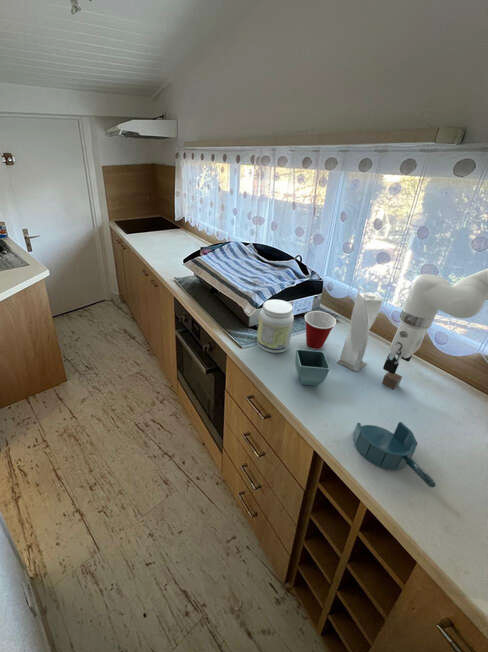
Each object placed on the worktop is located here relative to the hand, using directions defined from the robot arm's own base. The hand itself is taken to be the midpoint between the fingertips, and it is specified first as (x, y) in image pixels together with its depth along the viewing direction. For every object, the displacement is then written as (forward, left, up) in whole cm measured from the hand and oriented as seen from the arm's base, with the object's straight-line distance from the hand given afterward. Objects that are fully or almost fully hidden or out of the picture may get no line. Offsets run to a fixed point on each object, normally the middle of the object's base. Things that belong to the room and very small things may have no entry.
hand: (396, 365), depth 94 cm
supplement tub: (+25, -30, -8) cm, 39 cm away
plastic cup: (+10, -25, -8) cm, 28 cm away
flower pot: (+24, -9, -8) cm, 27 cm away
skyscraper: (+4, -13, -8) cm, 15 cm away
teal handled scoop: (+21, +21, -8) cm, 31 cm away
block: (0, 0, -8) cm, 8 cm away
